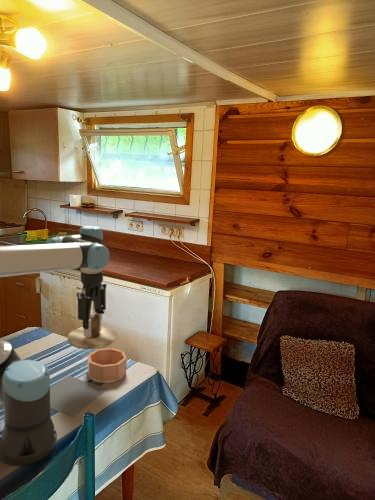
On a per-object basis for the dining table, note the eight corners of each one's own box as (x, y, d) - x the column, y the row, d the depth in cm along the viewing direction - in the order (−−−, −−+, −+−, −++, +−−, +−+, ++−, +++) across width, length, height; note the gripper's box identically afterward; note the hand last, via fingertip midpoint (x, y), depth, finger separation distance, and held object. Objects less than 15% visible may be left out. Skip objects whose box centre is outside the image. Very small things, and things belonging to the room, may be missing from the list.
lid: (96, 353, 122) (96, 331, 120) (57, 341, 129) (56, 320, 127) (125, 333, 137) (126, 313, 136) (89, 324, 144) (88, 304, 142)
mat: (73, 418, 117) (73, 417, 116) (30, 401, 124) (30, 400, 123) (107, 390, 133) (107, 389, 133) (68, 376, 140) (68, 375, 140)
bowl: (111, 387, 135) (111, 369, 133) (80, 376, 140) (80, 359, 139) (131, 370, 147) (132, 353, 146) (103, 361, 153) (103, 345, 151)
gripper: (83, 279, 118) (84, 346, 123) (116, 266, 134) (116, 326, 139) (64, 275, 121) (66, 341, 126) (99, 263, 137) (99, 322, 142)
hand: (92, 333), depth 133 cm, fingers closed on lid, 5 cm apart
